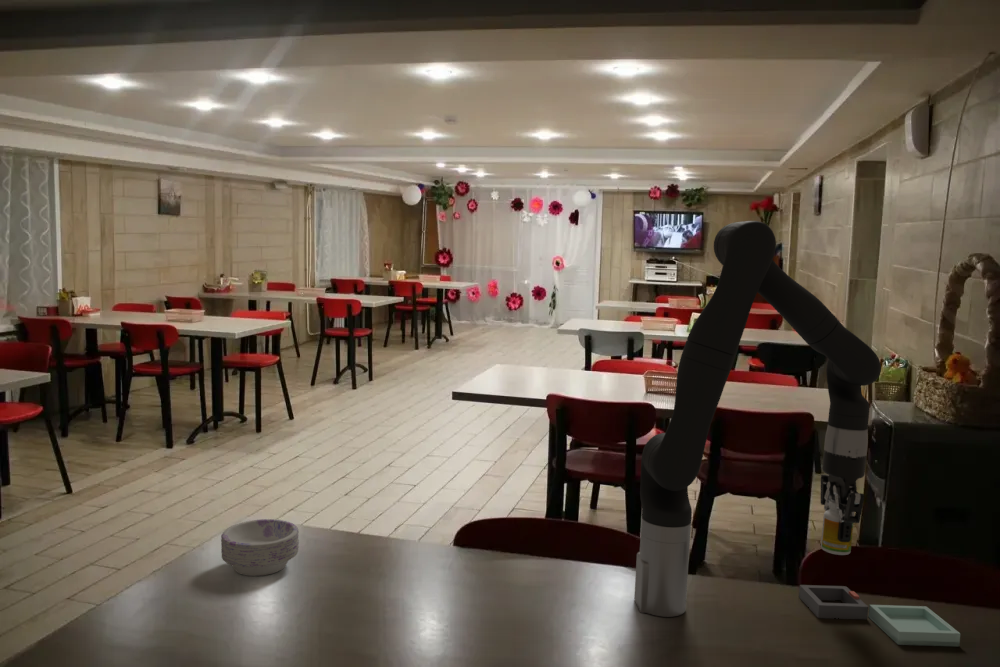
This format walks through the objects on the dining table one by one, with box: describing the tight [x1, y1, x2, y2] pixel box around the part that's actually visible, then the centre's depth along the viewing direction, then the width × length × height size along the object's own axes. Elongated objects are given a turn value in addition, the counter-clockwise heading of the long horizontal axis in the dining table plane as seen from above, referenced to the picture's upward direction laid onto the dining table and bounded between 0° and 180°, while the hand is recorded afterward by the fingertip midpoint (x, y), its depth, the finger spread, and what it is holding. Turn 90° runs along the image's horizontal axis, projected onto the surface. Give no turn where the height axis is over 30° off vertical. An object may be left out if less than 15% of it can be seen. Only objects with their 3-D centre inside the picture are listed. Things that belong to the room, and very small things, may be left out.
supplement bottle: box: [820, 499, 854, 556], centre depth 154 cm, size 5×5×10 cm
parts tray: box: [867, 604, 961, 647], centre depth 147 cm, size 11×11×2 cm
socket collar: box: [798, 584, 869, 620], centre depth 156 cm, size 9×9×3 cm
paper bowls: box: [220, 518, 300, 577], centre depth 164 cm, size 15×15×8 cm
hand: (836, 535), depth 155 cm, fingers closed on supplement bottle, 5 cm apart
